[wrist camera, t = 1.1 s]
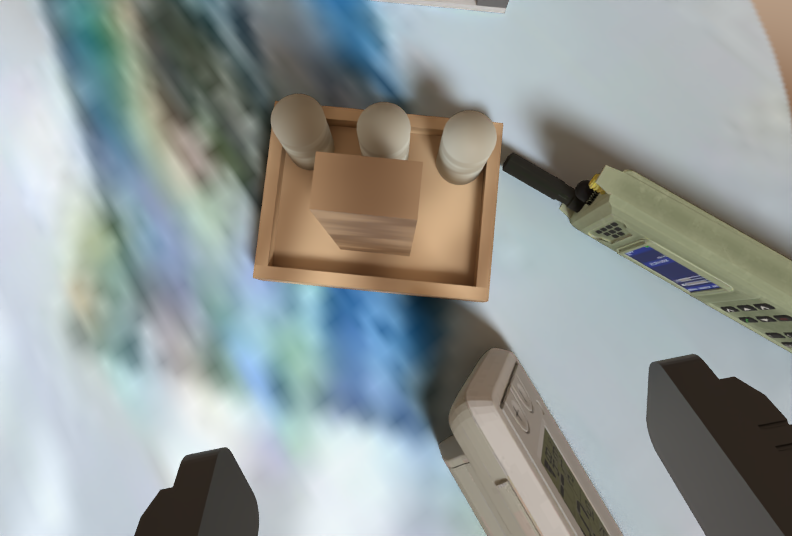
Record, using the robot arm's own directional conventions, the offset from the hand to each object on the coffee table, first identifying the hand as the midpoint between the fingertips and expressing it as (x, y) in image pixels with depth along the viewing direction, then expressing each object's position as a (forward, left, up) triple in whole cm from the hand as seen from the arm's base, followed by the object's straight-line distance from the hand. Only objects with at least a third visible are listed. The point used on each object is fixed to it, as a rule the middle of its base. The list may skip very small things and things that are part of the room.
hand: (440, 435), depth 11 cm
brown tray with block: (-3, +9, -25) cm, 27 cm away
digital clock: (+8, -7, -25) cm, 27 cm away
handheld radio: (+16, +8, -25) cm, 31 cm away
